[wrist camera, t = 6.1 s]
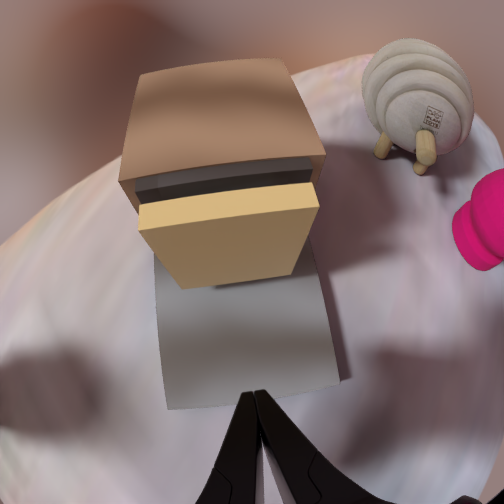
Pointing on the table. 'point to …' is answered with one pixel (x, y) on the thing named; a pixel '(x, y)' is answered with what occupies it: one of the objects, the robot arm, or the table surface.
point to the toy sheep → (417, 100)
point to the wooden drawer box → (221, 180)
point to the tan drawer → (230, 233)
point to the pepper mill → (482, 223)
